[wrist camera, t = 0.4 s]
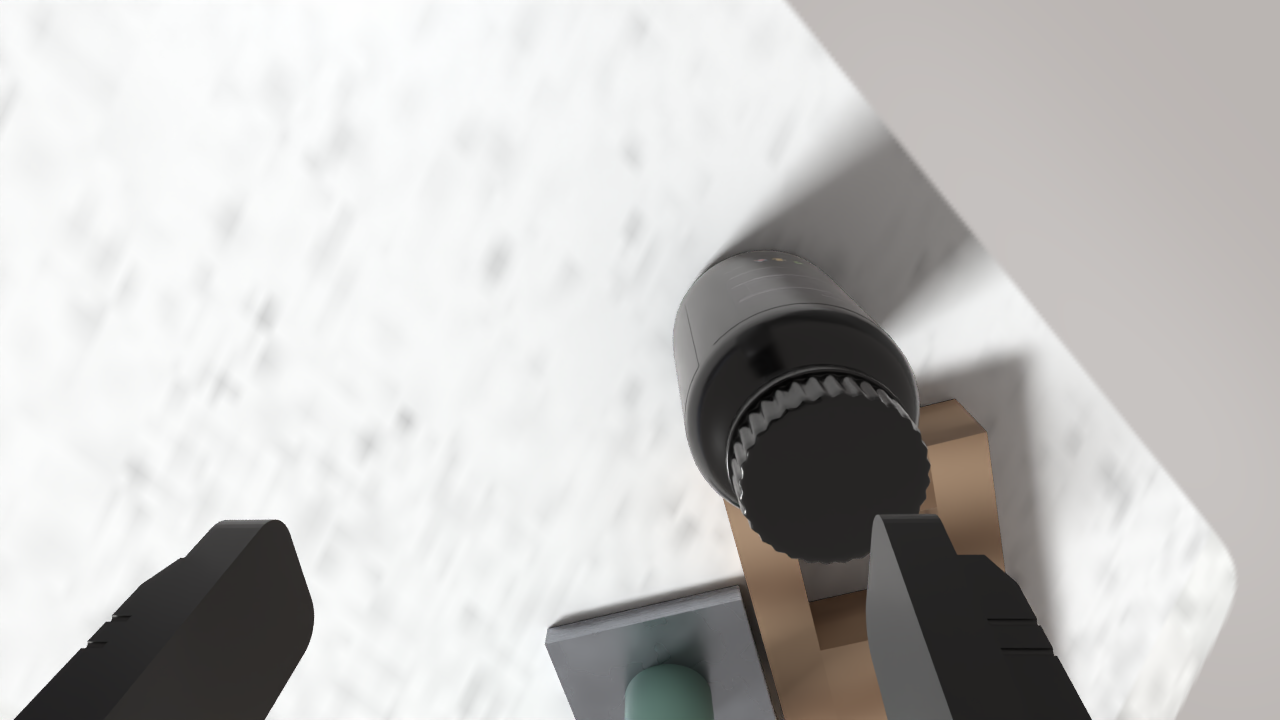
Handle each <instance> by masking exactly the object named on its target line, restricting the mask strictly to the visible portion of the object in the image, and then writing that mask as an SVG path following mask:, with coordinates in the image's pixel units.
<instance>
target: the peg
mask: <svg viewBox="0 0 1280 720" xmlns="http://www.w3.org/2000/svg"><path fill="white" fill-rule="evenodd" d="M624 720H714V712H713V704H712V695H711V690H710V687H709V685H708V683H707V681H706V680H705V679H704V678H703V677H702V676H701V675H700V674H699V673H697V672H696V671H694V670H692V669H691V668H688V667H685V666H682V665H676V664H661V665H656V666H652V667H650V668H647V669H645V670H643V671H641V672H640V673H638V674H637V675H636V676H635V677H634V678H633V679H632V680H631V681H630V683H629V685H628V687H627V689H626V693H625V717H624Z"/></svg>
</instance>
